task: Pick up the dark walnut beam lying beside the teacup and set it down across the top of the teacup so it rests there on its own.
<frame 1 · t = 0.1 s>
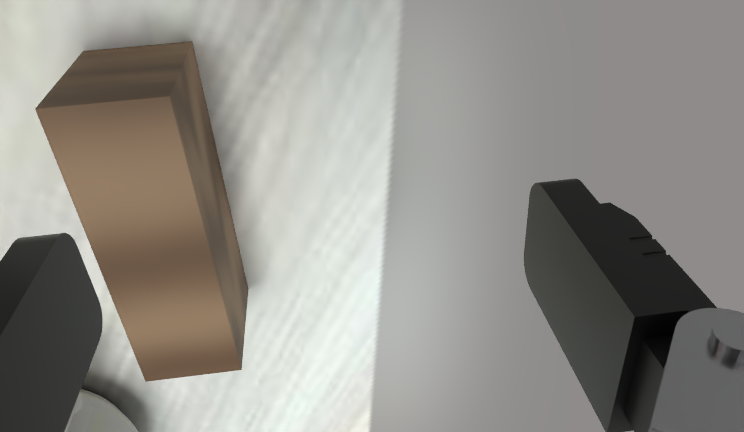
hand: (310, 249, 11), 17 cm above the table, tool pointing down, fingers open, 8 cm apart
walnut beam: (178, 184, 29), on the table
teacup: (74, 401, 37), on the table
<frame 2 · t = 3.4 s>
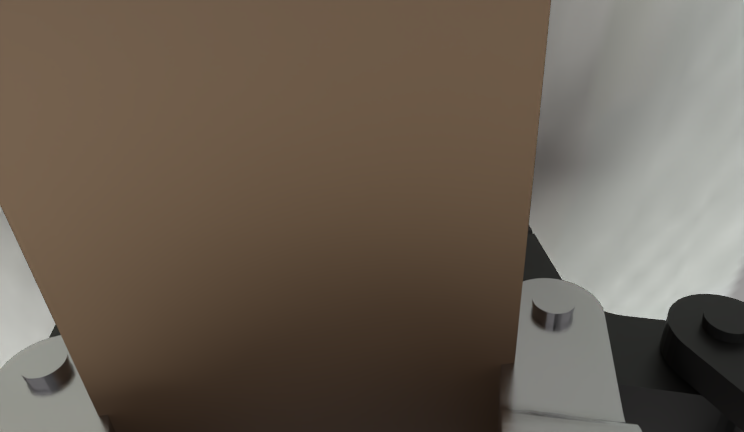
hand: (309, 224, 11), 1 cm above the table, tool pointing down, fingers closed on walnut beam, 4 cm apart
walnut beam: (309, 199, 12), on the table, touching gripper
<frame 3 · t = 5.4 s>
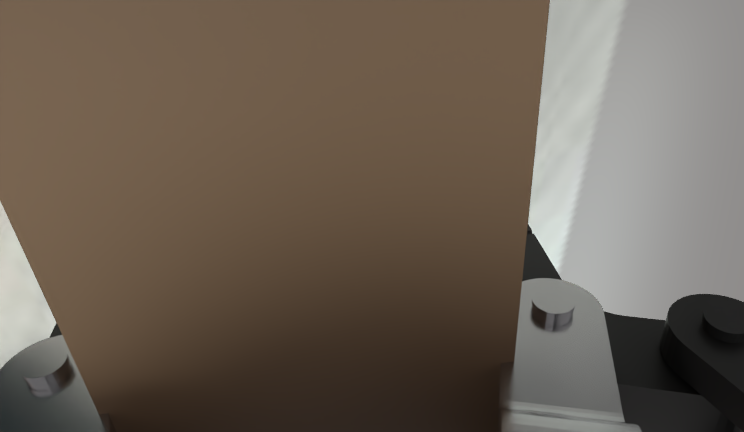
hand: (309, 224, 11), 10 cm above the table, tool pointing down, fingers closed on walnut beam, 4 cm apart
walnut beam: (310, 199, 12), point 9 cm above the table, touching gripper
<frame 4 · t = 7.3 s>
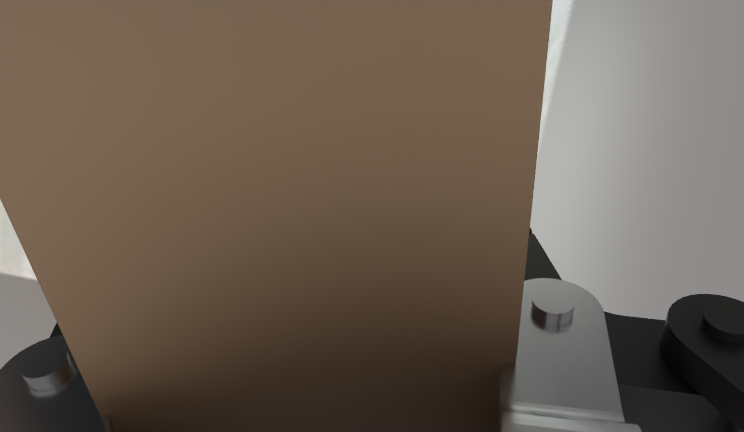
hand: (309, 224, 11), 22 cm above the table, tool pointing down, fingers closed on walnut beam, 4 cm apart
walnut beam: (311, 200, 12), point 21 cm above the table, touching gripper
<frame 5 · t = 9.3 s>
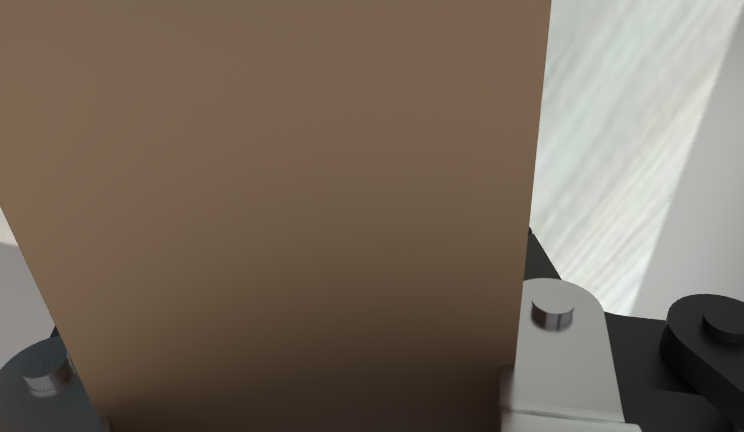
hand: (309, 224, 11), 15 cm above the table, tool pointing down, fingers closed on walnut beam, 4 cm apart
walnut beam: (310, 202, 12), point 14 cm above the table, touching gripper
when the fingers open (10 cm above the table, at t = 11.1 s): walnut beam drops 1 cm, resting on teacup.
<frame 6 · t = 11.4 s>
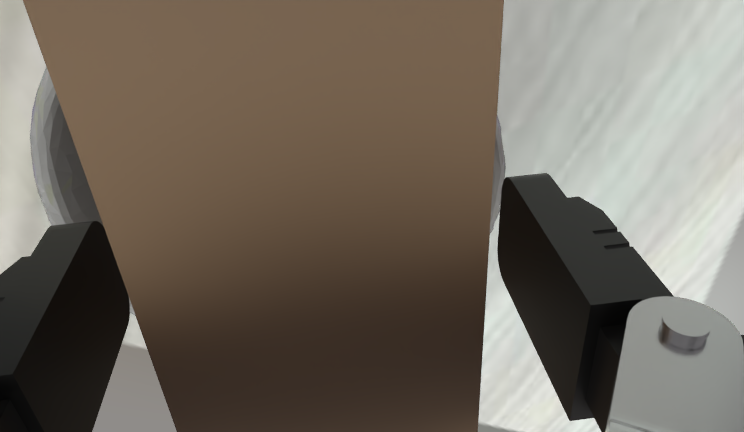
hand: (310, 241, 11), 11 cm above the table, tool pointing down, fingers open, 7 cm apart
walnut beam: (312, 167, 13), point 8 cm above the table, touching teacup
teacup: (306, 42, 20), on the table, touching walnut beam
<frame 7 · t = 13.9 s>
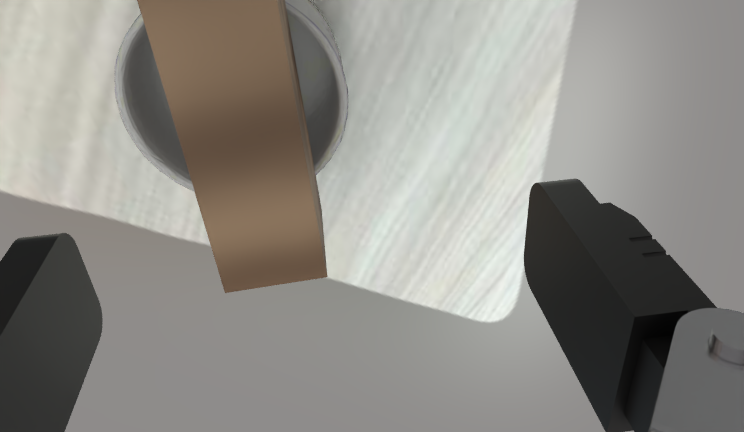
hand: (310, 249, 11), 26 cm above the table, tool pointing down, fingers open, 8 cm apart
walnut beam: (250, 86, 28), point 8 cm above the table, touching teacup
teacup: (258, 31, 34), on the table, touching walnut beam
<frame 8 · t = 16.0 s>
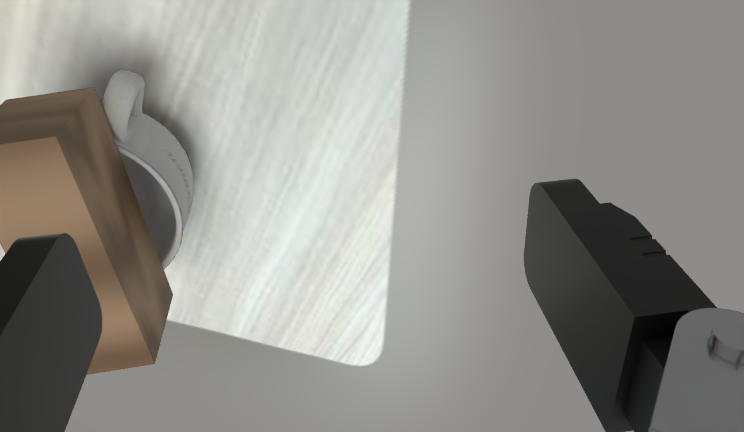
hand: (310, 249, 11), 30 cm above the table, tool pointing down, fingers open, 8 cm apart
walnut beam: (98, 208, 35), point 8 cm above the table, touching teacup
teacup: (129, 139, 41), on the table, touching walnut beam
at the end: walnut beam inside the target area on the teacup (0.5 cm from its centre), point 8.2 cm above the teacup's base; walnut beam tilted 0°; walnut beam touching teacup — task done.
